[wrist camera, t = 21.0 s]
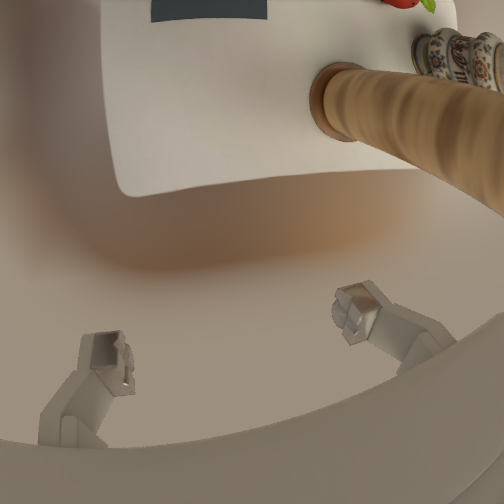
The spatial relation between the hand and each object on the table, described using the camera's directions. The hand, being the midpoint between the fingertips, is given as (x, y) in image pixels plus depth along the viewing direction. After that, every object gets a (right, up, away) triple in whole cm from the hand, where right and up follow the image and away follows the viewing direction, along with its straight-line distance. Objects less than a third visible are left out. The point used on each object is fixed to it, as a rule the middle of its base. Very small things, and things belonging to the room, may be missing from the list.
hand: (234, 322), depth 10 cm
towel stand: (+14, +24, +25) cm, 38 cm away
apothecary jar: (+31, +36, +24) cm, 53 cm away
